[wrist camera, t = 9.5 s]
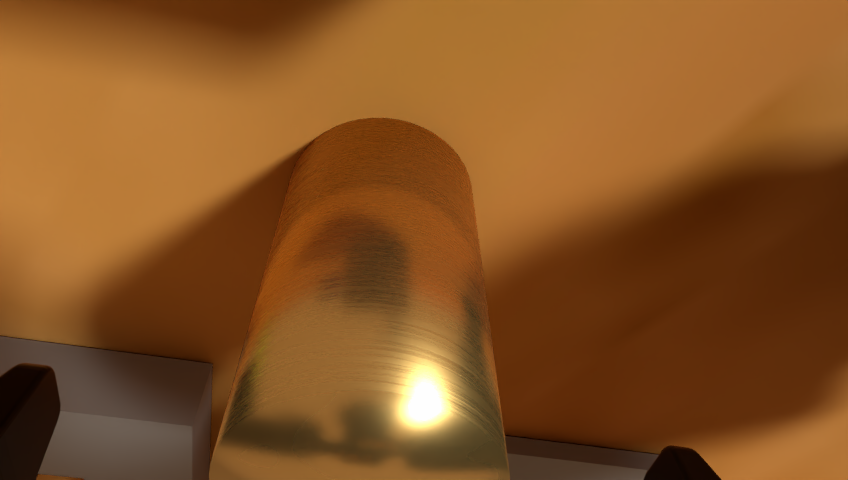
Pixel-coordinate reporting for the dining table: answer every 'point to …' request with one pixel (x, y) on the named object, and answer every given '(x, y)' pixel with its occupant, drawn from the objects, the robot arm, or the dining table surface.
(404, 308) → the pin
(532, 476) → the board
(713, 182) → the dining table surface
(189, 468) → the socket board
